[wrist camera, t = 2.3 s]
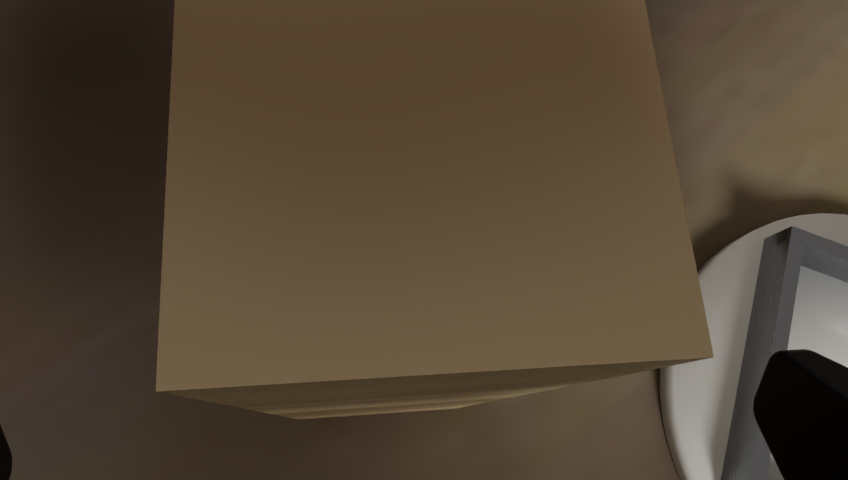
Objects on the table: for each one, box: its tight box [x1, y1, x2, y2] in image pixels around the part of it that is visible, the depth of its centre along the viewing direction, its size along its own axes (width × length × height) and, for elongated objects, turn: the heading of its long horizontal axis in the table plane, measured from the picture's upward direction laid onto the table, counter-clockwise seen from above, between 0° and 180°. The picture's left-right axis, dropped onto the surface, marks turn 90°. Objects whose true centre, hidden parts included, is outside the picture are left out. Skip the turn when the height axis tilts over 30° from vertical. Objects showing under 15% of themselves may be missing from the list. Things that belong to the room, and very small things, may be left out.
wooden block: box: [156, 0, 714, 420], centre depth 11 cm, size 4×4×12 cm
